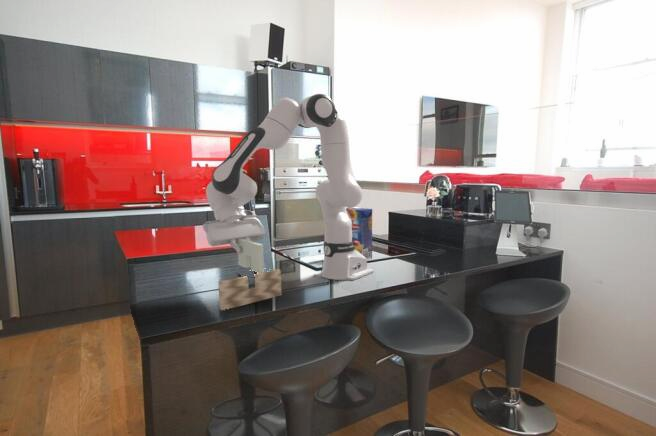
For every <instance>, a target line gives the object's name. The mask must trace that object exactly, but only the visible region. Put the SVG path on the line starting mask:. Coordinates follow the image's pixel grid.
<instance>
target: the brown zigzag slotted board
mask: <svg viewBox="0 0 656 436" xmlns="http://www.w3.org/2000/svg"><path fill="white" fill-rule="evenodd" d="M270 270H271V269H270ZM281 272H282V270H281V269H280V268H277V269H273V270H271V271H267V272H264V273H257V274H254V277H255V278H254V287H249V279H248V277H247V276H243V277H242V276H240V277H235V278H230V279H226V280H221V281H218V294H219V310H220V309H221V310H220V311H222V310H224V311H226V310H225V309H227V310H230V308H231V309H234V308H238V307H242V306H245V305H249V304H252V303H257V302H260V301H264V300H268V299H272V298H275V297H279V296H282V273H281Z"/></svg>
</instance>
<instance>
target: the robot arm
mask: <svg viewBox="0 0 656 436" xmlns="http://www.w3.org/2000/svg"><path fill="white" fill-rule="evenodd" d="M298 126H299V127H301V128H304V129H311V128H316V129H317V130H318V133H319V136H320V151H321V152H320V154H321V164H322V165H321V166H322V167H323V168H324V170H325V173H326V176H327V178H328V179H324V180H323V181H320V182H319V183H318V185H316V188H315V196H316V199H317V201H318V202H319V204H320V209H321V212H322V217H323V224H324V225H323V226H324V228H323V229H324V241H323V254H324V255H323V264H322V270H321V273H320V276H321V277H322V278H324V279H329V280H338V281H339V280H346V281H348V280H350V281H355V280H357V279H359V278H363V277H365V276H367V275H369V274H372V273H373V272H374V269H372V268H371V267H370V266H368V260H366V258H365V257H364V256H363V255H362V254H360V253H359V252H358V251H357V250H355V246H359V245H360V242H359V241H354V242H353V241H352V222H351V220H350V218H349V216H348V214H347V211H346V208H352V207H357V206H358V205H359V204H360V203H361V201H362V198H363V190H362V187H361V186H360V185H359V184H358V182H357V180H356V177H355V174H354V172H353V168H352V163H351V154H350V152H351V151H350V141H349V138H350V137H349V132H348V131H349V130H348V126H347V122H346V119H345V118H344V117H343V116H341V115H339V114H338V111H337V109H336V106H335V103H334V101H333V99H332V98H331V97H330V96H329V95H326V94H324V93H317V94H313V95H310V96H307V97H305V98H303V99H302V100H300V101H299V102H297V101H295V100H294V99H292V98H290V97H282V98H280V99H279V100H278V101H277V102H276V103H275V105H273V106H272V108H271V109H270V110H269V112H268V114H267V115H266V116H265V118H264V119H263V121H262V122H261V123H260V124H259V125H258V126H256V127H253V128H251V129H250V130H249V131H247V133H246V134H245V135H244V136H243V137H242V139H241V140H240V141H239V142H238V144H236V146H235V147H234V149H233V150H232V151H231V152H230V153H229V154H228V156H227V157H226V158H225V159H224V160H223V161H222V162H221V163H220V164H219V165H218V166H216V168H215V169H214V170H213V172H212V175H211V181H210V182H209V183H208V184H207V187H206V189H205V194H206V199H207V202H208V204H209V207H210V209H211V210H212V212H213V214H214V215H213V216H214V218H215V220H211V221H210V220H209V221H207V220H206V221H205V222H204V223H203V224H202V229H203V231H204V232H205V234H206V240H207V243H208V245H209V246H211V247H219V246H224V245H226V246H227V245H229V246H230V247H231V248H233V249H234V250H235V251H236V253H237V254H238V253H242V251H243V249H242V246H238V241H237V239H241V238H242V239H246V240H249V241H253V242H254V241H258V240H259V241H260V240H262V239H263V238H264V237H265V235H266V229H265V227H264V225H263V224H262V222H261V221H260V219H259V218H257V217H256V212H255V211H253V210H248V209H243V208H241V207H243V206H245V205H246V204H248V203H250V202H251V201H253V200H254V199H255V198H256V195H257V194H258V184H257V182H256V181H255V180H253V179H252V178H251V177H250V176H248V175H247V174H245V173H244V172H243V168H244V166H245V165H246V164H247V163H248V162H249V160H250V159H251V158H252V156H253V155H254V154H255V152H256V151H258V150H260V149H266V150H272V151H273V150H274V151H275V150H279V149H282V148H283V147H284V146H285V145H286V144H287V143H288V142H289V140H290V139H291V136H292V135H293V133H294V131H295V130H296V128H297V127H298Z"/></svg>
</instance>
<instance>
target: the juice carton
mask: <svg viewBox="0 0 656 436" xmlns="http://www.w3.org/2000/svg"><path fill="white" fill-rule="evenodd" d="M346 211H347V214H348V216H349V218H350V220H351V222H352V241H353V242H354V241H359V242H360V245H359V246H355V250H357V251H358V252H359V253H360V254H362V255H363V256H364V257H365V258H366V260H367V259H368V260H372V259H373V208H367V207H357V206H355V207H352V208H346ZM368 260H367V261H368Z"/></svg>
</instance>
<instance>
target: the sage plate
mask: <svg viewBox="0 0 656 436" xmlns="http://www.w3.org/2000/svg"><path fill="white" fill-rule="evenodd" d="M237 241H238V243H237V245H238V246H242V249H243V251H242V253H237V261H238V266H240V267H243V268H244V269H245V268H246V269H249V268H250V271H251V270H252V271H255V272H257V273H264V269H265V264H264V263H265V260H264V244H263V243H260V242H255V241H254V240H253V241H249V240H246V239H242V238H241V239H237Z"/></svg>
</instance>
